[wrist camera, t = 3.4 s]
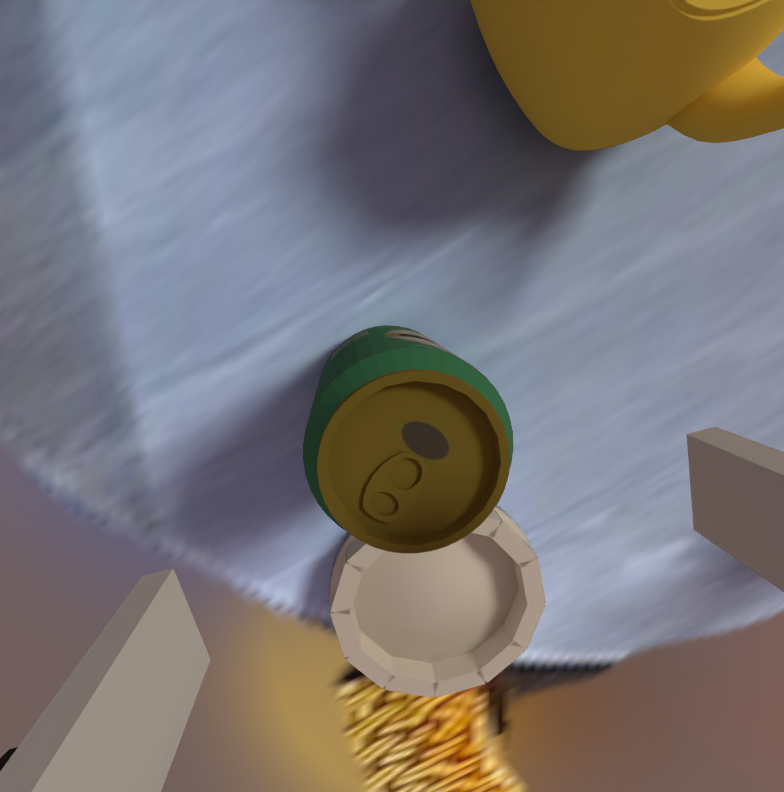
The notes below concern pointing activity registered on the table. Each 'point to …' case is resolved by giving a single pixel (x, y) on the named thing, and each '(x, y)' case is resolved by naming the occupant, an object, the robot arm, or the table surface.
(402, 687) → the cup dish
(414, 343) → the beverage can
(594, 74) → the teapot
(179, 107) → the table surface
